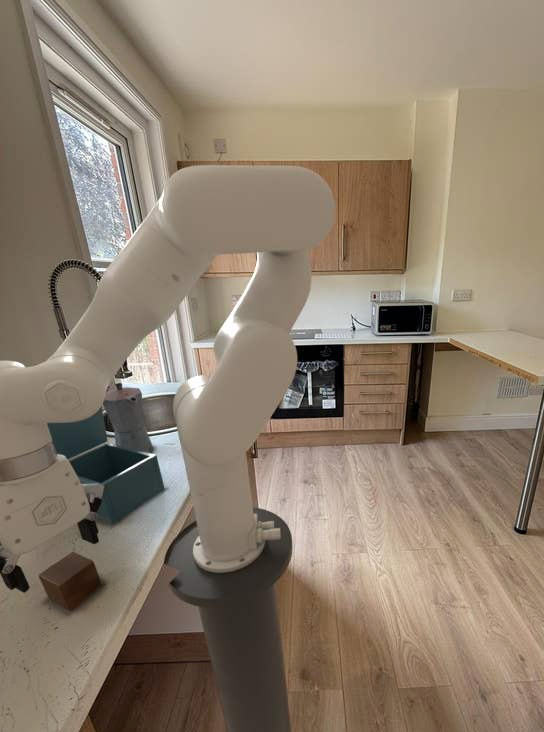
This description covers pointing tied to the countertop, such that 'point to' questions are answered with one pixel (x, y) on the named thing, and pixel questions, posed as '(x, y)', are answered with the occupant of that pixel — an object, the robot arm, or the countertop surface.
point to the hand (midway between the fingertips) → (58, 562)
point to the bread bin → (119, 478)
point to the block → (70, 580)
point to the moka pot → (127, 417)
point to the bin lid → (78, 435)
